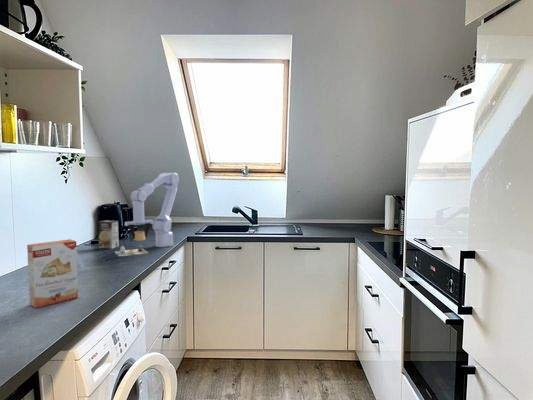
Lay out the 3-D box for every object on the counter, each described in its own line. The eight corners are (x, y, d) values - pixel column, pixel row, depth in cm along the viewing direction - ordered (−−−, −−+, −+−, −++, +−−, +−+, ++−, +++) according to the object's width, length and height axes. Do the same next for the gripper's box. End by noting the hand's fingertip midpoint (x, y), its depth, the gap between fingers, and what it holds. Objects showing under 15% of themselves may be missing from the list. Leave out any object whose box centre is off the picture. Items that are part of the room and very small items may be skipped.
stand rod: (141, 250, 205) (141, 245, 204) (142, 251, 203) (142, 245, 203) (137, 251, 204) (137, 245, 203) (138, 251, 202) (138, 246, 202)
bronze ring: (143, 238, 207) (143, 230, 206) (146, 239, 202) (146, 232, 201) (133, 239, 204) (132, 231, 203) (135, 240, 199) (135, 233, 199)
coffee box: (98, 249, 213) (97, 221, 212) (106, 247, 219) (105, 219, 218) (112, 250, 210) (111, 222, 209) (119, 247, 217) (118, 220, 215)
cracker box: (35, 309, 123) (31, 246, 121) (29, 304, 127) (25, 244, 125) (79, 298, 134) (76, 240, 132) (72, 294, 138) (70, 238, 136)
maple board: (142, 250, 210) (142, 248, 210) (148, 254, 199) (148, 252, 199) (114, 253, 203) (114, 251, 203) (119, 258, 192) (118, 256, 192)
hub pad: (128, 251, 204) (128, 250, 204) (131, 253, 197) (131, 253, 197) (114, 252, 200) (114, 252, 200) (116, 255, 194) (116, 255, 194)
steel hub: (124, 252, 200) (123, 245, 200) (124, 253, 198) (124, 246, 198) (120, 253, 199) (120, 246, 199) (121, 253, 197) (120, 246, 197)
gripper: (126, 214, 194) (127, 240, 196) (154, 212, 202) (155, 237, 203) (123, 213, 200) (124, 238, 202) (150, 211, 208) (151, 235, 209)
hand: (139, 237), depth 203 cm, fingers closed on bronze ring, 6 cm apart
